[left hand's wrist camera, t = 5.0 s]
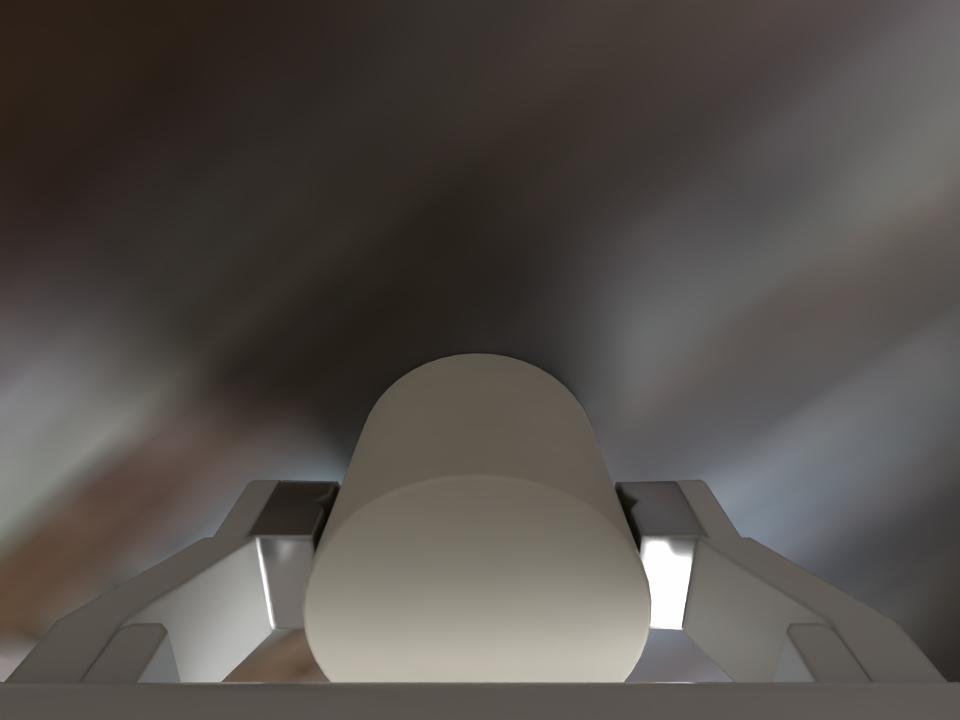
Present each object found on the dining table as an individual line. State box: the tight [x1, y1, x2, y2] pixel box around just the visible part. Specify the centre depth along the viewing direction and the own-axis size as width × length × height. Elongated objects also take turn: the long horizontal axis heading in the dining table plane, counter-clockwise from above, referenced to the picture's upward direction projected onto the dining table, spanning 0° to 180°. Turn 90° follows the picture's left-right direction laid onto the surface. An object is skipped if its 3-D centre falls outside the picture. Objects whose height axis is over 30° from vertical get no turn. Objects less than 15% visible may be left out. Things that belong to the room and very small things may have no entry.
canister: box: [302, 353, 652, 682], centre depth 10 cm, size 5×5×4 cm
